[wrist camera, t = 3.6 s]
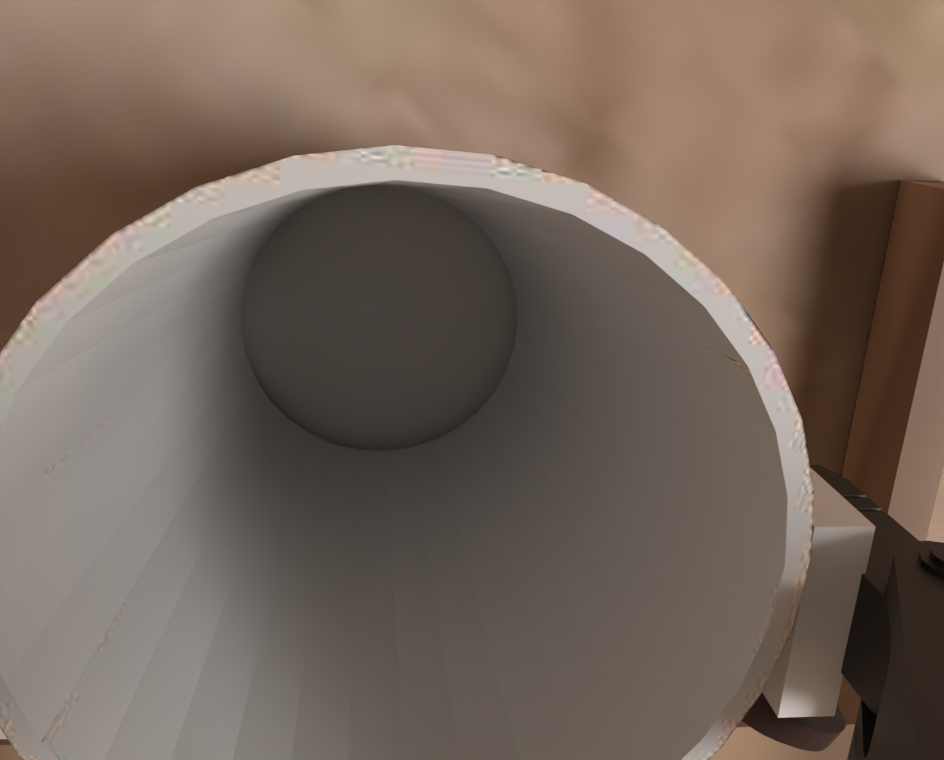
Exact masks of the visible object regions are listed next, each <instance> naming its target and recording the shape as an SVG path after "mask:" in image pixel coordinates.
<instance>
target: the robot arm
mask: <svg viewBox="0 0 944 760" xmlns="http://www.w3.org/2000/svg"><path fill="white" fill-rule="evenodd" d="M810 469H811V475H812V481H813V487H814V508H813V527H812V546H811V563H810V567H809V570H808V574H807V578H806V582H805V585H804V589H803V593H802V597H801V601H800V604H799V608H798V612H797V616H796V619H795V623H794V627H793V630H792V632H791V634H790V636H789V638H788V640H787V643H786V645H785V647H784V649H783V651H782V653H781V655H780V657H779V659H778V661H777V663H776V665H775V667H774V669H773V671H772V673H771V675H770V678H769V680H768V682H767V684H766V686H765V688H764V690H763V692H762V693H763V694H764V696H765V698H766V699H767V701H768V702H769V704H770V706H771V707H772V709H773V711H774V712H775V714H776V715H777V717H778V718H786V717H822V716H835V711H836V707H837V702H838V698H839V693H840V688H841V684H842V679H843V676H844V677H845V678H846V679H847V681H848V682H849V683H850V685H851V686H852V687H853V689H854V690H855V691H856V692H857V694H858V695H859V696H860V698H861V701H860V705H859V710H858V714H857V718H856V723H855V727H854V732H853V736H852V740H851V745H850V749H849V754H848V758H847V760H944V543H941V542H933V541H919V540H918V539H916V538H915V537H914V536H913V535H912V534H911V533H909V532H908V531H907V530H906V529H905V528H904V527H902V526H901V525H900V524H899V523H898V522H897V521H895V520H894V519H893V518H892V517H891V516H890V515H888V514H887V513H886V512H881V508H880V507H879V506H878V505H877V504H876V503H874V502H873V501H872V500H871V499H870V498H866V495H865V494H864V493H863V492H862V491H861V490H859V489H858V488H857V487H856V486H855V485H854V484H852V483H851V482H850V481H849V480H848V479H846V478H844V477H842V476H840V475H838V474H836V473H834V472H832V471H829V470H827V469H825V468H823V467H821V466H819V465H810ZM0 739H7V738H6V736H5V735H4V733H3V732H2V730H1V728H0Z"/></svg>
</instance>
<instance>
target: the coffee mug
mask: <svg viewBox="0 0 944 760" xmlns="http://www.w3.org/2000/svg"><path fill="white" fill-rule="evenodd" d="M813 508H814V487H813V481H812V475H811V469H810V462H809V456H808V450H807V444H806V438H805V432H804V426H803V420H802V418H801V415H800V413H799V410H798V408H797V406H796V403H795V401H794V398H793V396H792V393H791V391H790V388H789V386H788V384H787V381H786V379H785V376H784V374H783V371H782V369H781V367H780V364H779V362H778V359H777V357H776V354H775V352H774V350H773V348H772V347H771V345H770V344H769V343H768V341H767V340H766V338H765V337H764V336H763V334H762V333H761V331H760V330H759V328H758V327H757V326H756V324H755V323H754V321H753V320H752V319H751V317H750V316H749V314H748V313H747V312H746V310H745V309H744V307H743V306H742V304H741V303H740V302H739V300H738V299H737V297H736V296H735V295H734V293H733V292H732V290H731V289H730V287H729V286H728V285H727V284H726V283H725V282H724V281H723V280H722V279H721V278H720V277H718V276H717V275H716V274H715V273H714V272H713V271H712V270H711V269H710V268H708V267H707V266H706V265H705V264H704V263H703V262H702V261H701V260H699V259H698V258H697V257H696V256H695V255H694V254H693V253H692V252H691V251H689V250H688V249H687V248H686V247H685V246H684V245H683V244H682V243H681V242H679V241H678V240H677V239H676V238H675V237H674V236H673V235H672V234H670V233H669V232H668V231H667V230H666V229H665V228H664V227H662V226H660V225H658V224H657V223H655V222H653V221H651V220H649V219H648V218H646V217H644V216H642V215H641V214H639V213H637V212H635V211H634V210H632V209H630V208H628V207H626V206H625V205H623V204H621V203H619V202H618V201H616V200H614V199H612V198H610V197H609V196H607V195H605V194H603V193H602V192H600V191H598V190H596V189H594V188H593V187H591V186H589V185H587V184H586V183H583V182H580V181H576V180H573V179H570V178H567V177H564V176H560V175H557V174H554V173H551V172H548V171H544V170H541V169H538V168H535V167H532V166H528V165H525V164H522V163H519V162H516V161H512V160H509V159H506V158H503V157H500V156H496V155H491V154H481V153H471V152H461V151H451V150H440V149H430V148H420V147H410V146H400V145H390V146H381V147H371V148H362V149H352V150H343V151H333V152H323V153H314V154H304V155H295V156H291V157H287V158H284V159H281V160H278V161H275V162H272V163H269V164H265V165H262V166H259V167H256V168H253V169H250V170H247V171H243V172H240V173H237V174H234V175H231V176H228V177H224V178H221V179H218V180H215V181H212V182H209V183H206V184H202V185H199V186H196V187H194V188H192V189H191V190H189V191H187V192H185V193H184V194H182V195H180V196H178V197H177V198H175V199H173V200H171V201H169V202H168V203H166V204H164V205H162V206H161V207H159V208H157V209H155V210H154V211H152V212H150V213H148V214H147V215H145V216H143V217H141V218H139V219H138V220H136V221H134V222H132V223H131V224H129V225H127V226H125V227H124V228H122V229H120V230H118V231H116V232H115V233H113V234H111V235H109V236H108V237H107V238H106V239H105V240H104V241H102V242H101V243H100V244H99V245H98V246H97V247H96V248H95V249H93V250H92V251H91V252H90V253H89V254H88V255H87V256H86V257H85V258H83V259H82V260H81V261H80V262H79V263H78V264H77V265H76V266H75V267H73V268H72V269H71V270H70V271H69V272H68V273H67V274H66V275H64V276H63V277H62V278H61V279H60V280H59V281H58V282H57V283H56V284H54V285H53V286H52V287H51V288H50V289H49V290H48V291H47V292H46V293H44V294H43V295H42V296H41V297H40V298H39V299H38V300H37V301H36V302H35V303H34V305H33V306H32V308H31V309H30V311H29V312H28V313H27V315H26V316H25V318H24V319H23V321H22V322H21V323H20V325H19V326H18V328H17V329H16V330H15V332H14V333H13V335H12V336H11V338H10V339H9V340H8V342H7V343H6V345H5V346H4V347H3V349H2V350H1V352H0V728H1V730H2V732H3V733H4V735H5V736H6V738H7V739H8V741H9V743H10V744H11V746H12V747H13V749H14V750H15V752H16V753H17V754H18V755H19V756H20V757H21V758H22V759H23V760H709V759H711V758H712V757H713V756H714V755H715V754H716V753H717V752H718V751H719V750H720V749H721V748H722V747H723V745H724V744H725V742H726V741H727V740H728V738H729V737H730V736H731V734H732V733H733V731H734V730H735V729H736V727H737V726H738V725H739V723H740V722H741V721H743V722H744V723H746V724H747V725H748V726H750V727H751V728H753V729H754V730H756V731H757V732H759V733H761V734H762V735H765V736H767V737H769V738H771V739H773V740H775V741H778V742H780V743H783V744H786V745H789V746H792V747H795V748H798V749H801V750H807V751H814V752H818V751H822V750H824V749H826V748H827V747H829V746H830V744H831V743H832V742H833V741H834V740H835V739H836V738H837V737H838V736H839V735H840V733H841V732H842V731H843V730H844V729H845V727H846V723H845V720H844V717H843V715H842V713H841V711H840V709H839V708H838V706H837V707H836V711H835V716H822V717H786V718H778V717H777V715H776V714H775V712H774V711H773V709H772V707H771V706H770V704H769V702H768V701H767V699H766V698H765V696H764V694H763V693H762V692H763V690H764V688H765V686H766V684H767V682H768V680H769V678H770V675H771V673H772V671H773V669H774V667H775V665H776V663H777V661H778V659H779V657H780V655H781V653H782V651H783V649H784V647H785V645H786V643H787V640H788V638H789V636H790V634H791V632H792V630H793V627H794V623H795V619H796V616H797V612H798V608H799V604H800V601H801V597H802V593H803V589H804V585H805V582H806V578H807V574H808V570H809V567H810V563H811V546H812V527H813Z"/></svg>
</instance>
